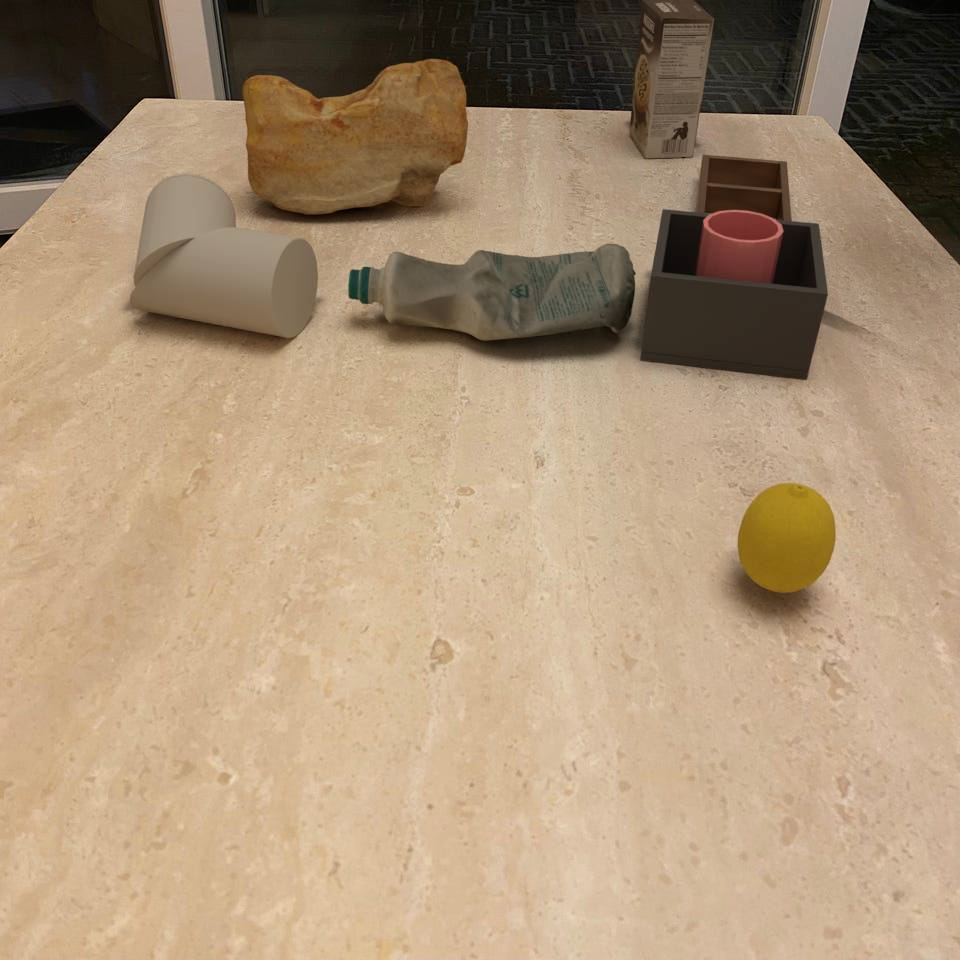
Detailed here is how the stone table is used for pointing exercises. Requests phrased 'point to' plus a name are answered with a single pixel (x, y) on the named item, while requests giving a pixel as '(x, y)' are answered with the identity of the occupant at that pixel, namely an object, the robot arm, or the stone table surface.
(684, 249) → the dark gray open box
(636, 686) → the stone table surface
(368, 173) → the tan saddle-shaped rock
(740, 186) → the brown compartment tray
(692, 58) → the coffee box
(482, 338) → the detergent
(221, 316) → the l-shaped cylinder
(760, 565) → the lemon
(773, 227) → the pink cup
